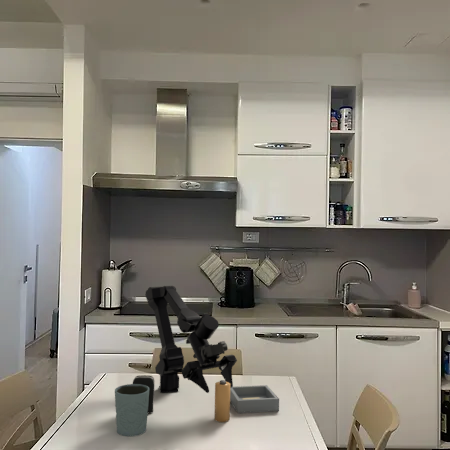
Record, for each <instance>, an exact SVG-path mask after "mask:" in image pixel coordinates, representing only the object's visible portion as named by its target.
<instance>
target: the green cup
mask: <svg viewBox="0 0 450 450" xmlns="http://www.w3.org/2000/svg"><path fill="white" fill-rule="evenodd" d="M114 400H115V401H114V402H115V420H116V421H115V424H116V432H117V434H118V435H120V436H123V437H136V436H137V437H138V436H141V435H143V434H144V433H145V432H146V431H147V427H148V424H147V423H148V414H149V413H148V412H147V411H148V402H149V387H148V386H146V385H141V384H133V383H129V384H128V383H127V384H123V385H119V386H117V387H116V388H114Z"/></svg>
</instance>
